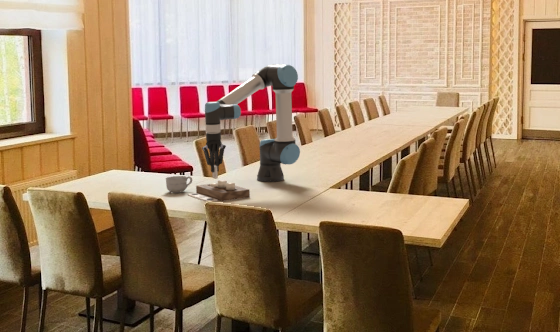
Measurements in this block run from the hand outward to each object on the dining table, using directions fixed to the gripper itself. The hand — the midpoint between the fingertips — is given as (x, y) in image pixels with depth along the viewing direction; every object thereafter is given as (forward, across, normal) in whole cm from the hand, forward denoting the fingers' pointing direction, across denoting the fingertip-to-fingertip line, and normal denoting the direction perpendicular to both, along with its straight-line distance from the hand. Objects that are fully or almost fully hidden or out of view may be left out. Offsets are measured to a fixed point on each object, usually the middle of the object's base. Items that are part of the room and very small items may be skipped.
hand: (215, 178), depth 374 cm
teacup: (+8, +14, -14) cm, 21 cm away
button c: (+3, +1, +16) cm, 16 cm away
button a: (+6, +1, 0) cm, 6 cm away
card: (+7, +12, +8) cm, 16 cm away
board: (+8, +1, +8) cm, 11 cm away
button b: (+3, +1, +8) cm, 9 cm away
